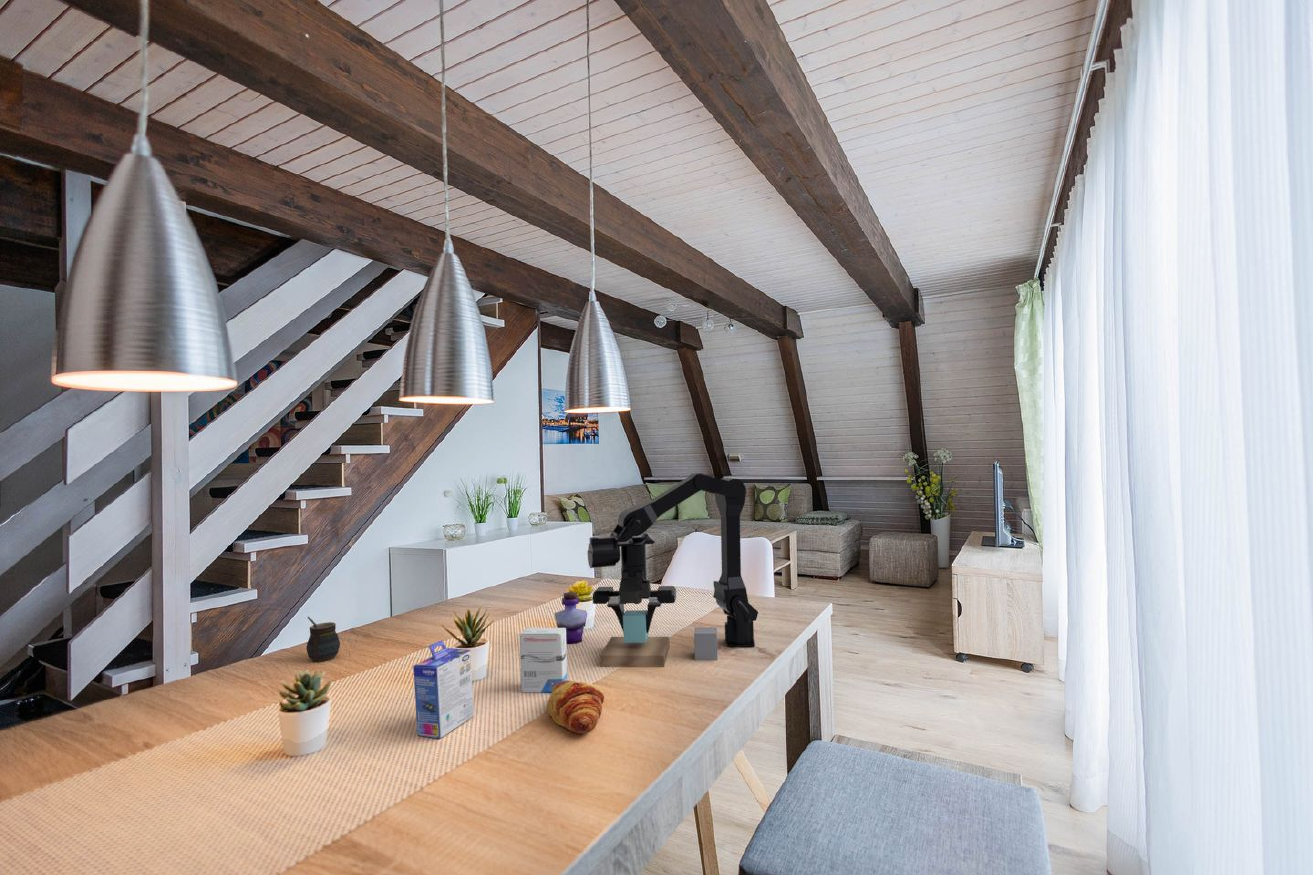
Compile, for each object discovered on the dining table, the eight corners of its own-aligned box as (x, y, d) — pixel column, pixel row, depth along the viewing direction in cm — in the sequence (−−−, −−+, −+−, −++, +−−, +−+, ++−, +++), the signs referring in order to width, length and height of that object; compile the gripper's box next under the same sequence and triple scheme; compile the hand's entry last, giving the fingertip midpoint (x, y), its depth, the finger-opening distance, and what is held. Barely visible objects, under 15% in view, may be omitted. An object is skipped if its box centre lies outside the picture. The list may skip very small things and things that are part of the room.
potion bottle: (592, 636, 168) (591, 589, 169) (583, 646, 160) (581, 596, 160) (560, 635, 170) (559, 588, 170) (549, 645, 161) (547, 596, 162)
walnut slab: (669, 649, 157) (669, 636, 157) (664, 669, 143) (663, 655, 143) (611, 649, 159) (611, 636, 159) (600, 669, 145) (600, 655, 145)
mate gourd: (331, 663, 153) (329, 620, 153) (299, 664, 153) (297, 621, 153) (346, 653, 160) (344, 612, 160) (315, 654, 160) (314, 613, 160)
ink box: (568, 684, 135) (566, 626, 135) (562, 693, 130) (561, 633, 130) (527, 683, 136) (526, 626, 136) (520, 692, 131) (518, 633, 131)
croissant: (551, 716, 128) (531, 682, 127) (595, 684, 131) (575, 651, 130) (572, 762, 108) (547, 722, 107) (623, 724, 111) (600, 685, 110)
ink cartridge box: (449, 713, 122) (447, 634, 122) (475, 716, 120) (473, 636, 120) (413, 735, 112) (411, 650, 113) (440, 739, 111) (438, 653, 111)
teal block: (648, 636, 153) (647, 610, 153) (645, 642, 148) (644, 615, 148) (627, 636, 154) (626, 610, 154) (623, 642, 149) (622, 615, 149)
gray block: (717, 653, 152) (716, 627, 152) (717, 660, 147) (716, 633, 147) (695, 653, 152) (695, 627, 152) (695, 660, 147) (694, 633, 147)
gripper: (586, 571, 144) (588, 643, 144) (671, 570, 142) (673, 642, 142) (596, 562, 155) (598, 628, 155) (675, 561, 154) (677, 628, 153)
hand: (636, 632), depth 151 cm, fingers closed on teal block, 5 cm apart
